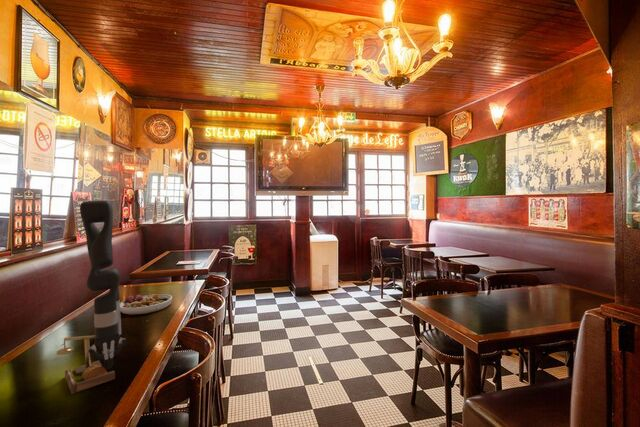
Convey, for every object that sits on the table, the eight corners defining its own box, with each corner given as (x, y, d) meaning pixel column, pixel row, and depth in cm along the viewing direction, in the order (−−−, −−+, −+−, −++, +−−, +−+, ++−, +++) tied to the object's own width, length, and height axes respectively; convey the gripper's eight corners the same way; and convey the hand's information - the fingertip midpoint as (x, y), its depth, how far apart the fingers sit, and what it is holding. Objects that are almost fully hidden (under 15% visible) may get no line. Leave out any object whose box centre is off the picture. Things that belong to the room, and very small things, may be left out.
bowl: (181, 301, 216) (181, 289, 216) (151, 317, 186) (150, 303, 186) (142, 300, 221) (141, 289, 221) (106, 315, 191) (105, 302, 191)
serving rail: (65, 377, 120) (64, 369, 119) (105, 364, 128) (105, 356, 128) (71, 393, 108) (71, 384, 108) (115, 378, 117) (114, 370, 117)
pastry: (113, 376, 119) (112, 366, 119) (93, 386, 113) (92, 375, 113) (99, 371, 124) (98, 361, 124) (79, 379, 118) (78, 369, 118)
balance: (58, 381, 117) (56, 342, 116) (57, 375, 121) (54, 338, 121) (117, 362, 130) (115, 327, 129) (114, 358, 134) (112, 324, 134)
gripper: (123, 316, 129) (125, 358, 130) (83, 325, 120) (86, 371, 121) (128, 320, 124) (131, 364, 124) (87, 330, 115) (89, 378, 115)
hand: (108, 367), depth 123 cm, fingers closed
